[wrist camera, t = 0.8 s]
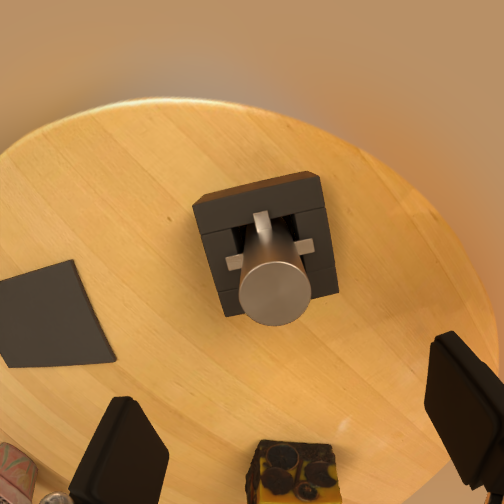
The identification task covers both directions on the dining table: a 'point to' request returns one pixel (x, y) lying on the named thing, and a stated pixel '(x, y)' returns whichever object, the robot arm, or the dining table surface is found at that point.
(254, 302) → the bronze metal rod
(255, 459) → the candle
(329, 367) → the dining table surface
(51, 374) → the dining table surface
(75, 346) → the mat
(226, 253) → the dark square ring block
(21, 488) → the potted plant
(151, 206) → the dining table surface
